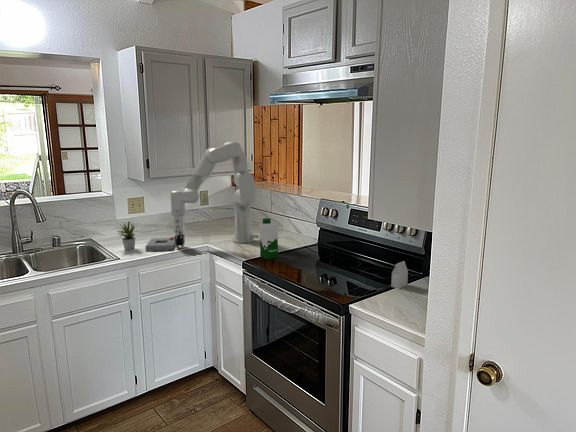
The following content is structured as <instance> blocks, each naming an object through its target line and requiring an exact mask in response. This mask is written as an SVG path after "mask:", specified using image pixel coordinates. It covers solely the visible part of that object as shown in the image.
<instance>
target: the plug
mask: <svg viewBox="0 0 576 432" xmlns="http://www.w3.org/2000/svg"><path fill="white" fill-rule="evenodd" d="M185 235H186V234H185V233H183V234H181V236H182V245H176V233H174V238H175V245H176V249H179V248H181V249H184V247H185V243H186V238H185Z"/></svg>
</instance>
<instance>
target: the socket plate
mask: <svg viewBox="0 0 576 432" xmlns="http://www.w3.org/2000/svg"><path fill="white" fill-rule="evenodd" d="M175 247H176V246H175V236H170V237H159V238H158V237H157V238H155V237H154V238H151V239H149V241H148V242H147V243H146V245H145V252H161V251H163V252H164V251H165V252H166V251H172V250H173V249H174V248H175Z"/></svg>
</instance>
